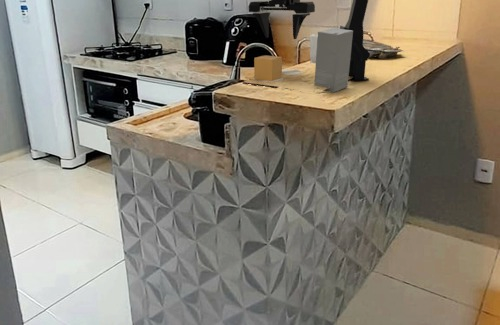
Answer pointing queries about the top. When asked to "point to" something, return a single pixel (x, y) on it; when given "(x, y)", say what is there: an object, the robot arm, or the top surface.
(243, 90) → the top surface
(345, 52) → the skincare box
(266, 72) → the tan wooden cube
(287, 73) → the board
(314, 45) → the white cup
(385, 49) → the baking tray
